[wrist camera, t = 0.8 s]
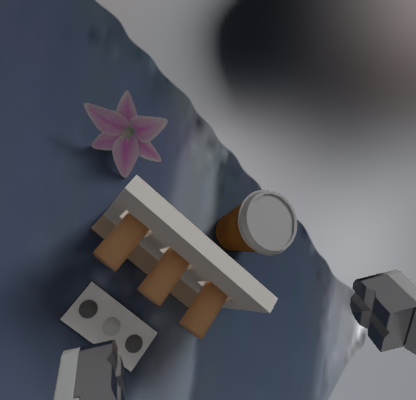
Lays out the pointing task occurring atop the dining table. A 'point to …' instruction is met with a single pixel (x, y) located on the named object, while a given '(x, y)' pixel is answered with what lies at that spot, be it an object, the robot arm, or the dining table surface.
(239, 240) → the disposable coffee cup
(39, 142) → the dining table surface
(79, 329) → the card
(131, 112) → the lily
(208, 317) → the button right
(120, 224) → the button left
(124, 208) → the panel
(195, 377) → the dining table surface
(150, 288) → the button middle
